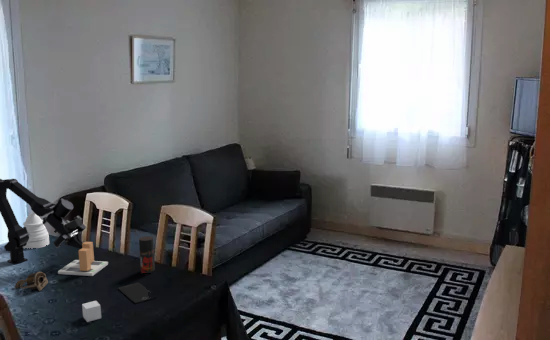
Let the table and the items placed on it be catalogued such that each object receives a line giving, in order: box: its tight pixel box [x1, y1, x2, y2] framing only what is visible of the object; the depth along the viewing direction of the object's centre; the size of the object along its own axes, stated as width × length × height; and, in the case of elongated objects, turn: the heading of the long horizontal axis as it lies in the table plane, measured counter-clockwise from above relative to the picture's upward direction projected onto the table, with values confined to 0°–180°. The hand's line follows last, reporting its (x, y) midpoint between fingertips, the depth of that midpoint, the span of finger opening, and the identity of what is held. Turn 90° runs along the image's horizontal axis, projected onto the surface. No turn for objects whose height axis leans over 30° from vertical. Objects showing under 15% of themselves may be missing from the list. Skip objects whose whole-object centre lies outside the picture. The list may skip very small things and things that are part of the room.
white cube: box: [81, 300, 102, 323], centre depth 192 cm, size 5×5×5 cm
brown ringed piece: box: [14, 271, 49, 292], centre depth 219 cm, size 7×13×10 cm
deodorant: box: [138, 235, 156, 274], centre depth 234 cm, size 6×6×15 cm
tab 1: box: [82, 241, 95, 263], centre depth 242 cm, size 4×3×9 cm
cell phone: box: [117, 282, 152, 305], centre depth 213 cm, size 9×18×1 cm, turn 37°
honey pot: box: [22, 210, 50, 250], centre depth 271 cm, size 13×13×18 cm
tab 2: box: [78, 248, 91, 271], centre depth 233 cm, size 4×3×9 cm
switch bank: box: [57, 259, 109, 277], centre depth 239 cm, size 16×14×1 cm
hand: (83, 248), depth 242 cm, fingers closed, pressing on tab 1
